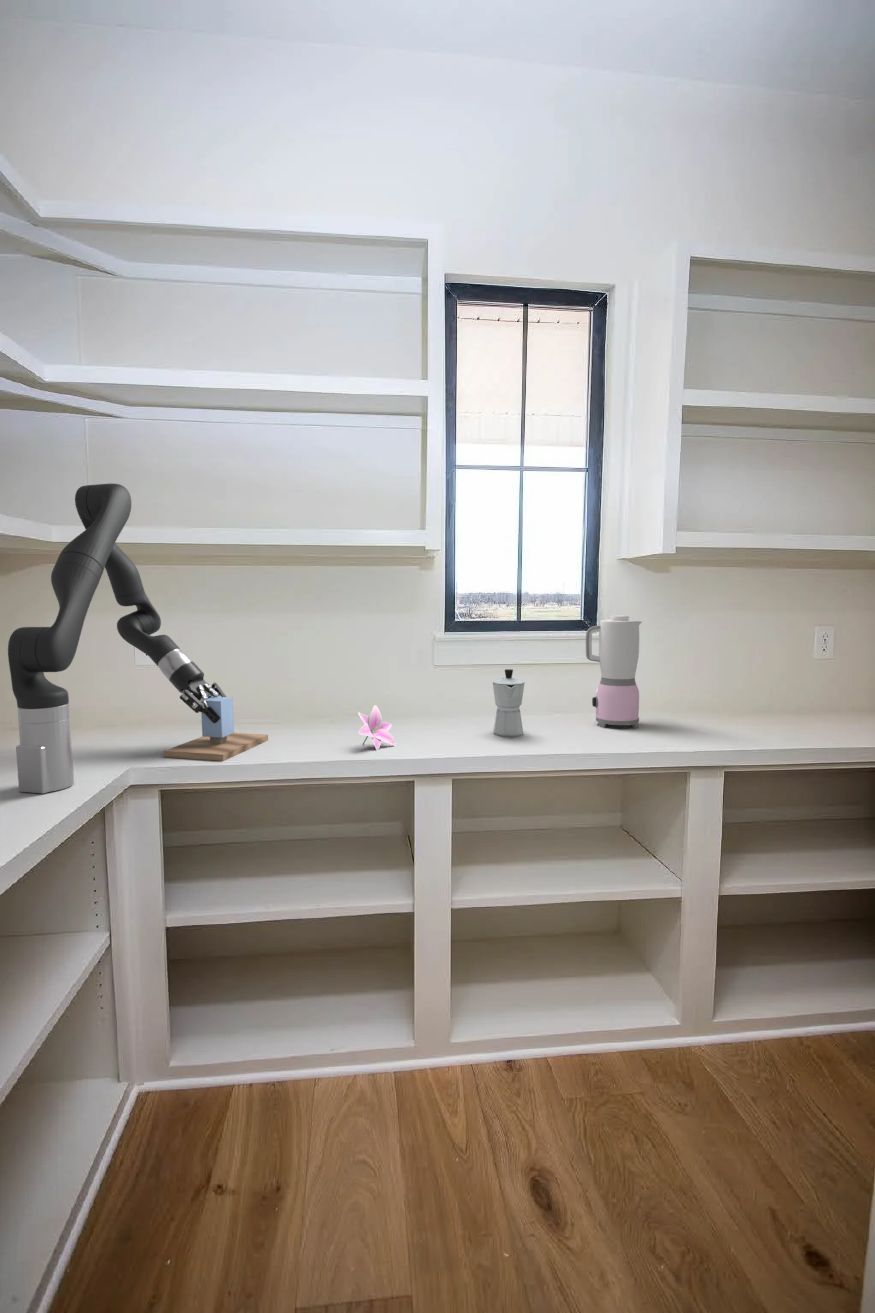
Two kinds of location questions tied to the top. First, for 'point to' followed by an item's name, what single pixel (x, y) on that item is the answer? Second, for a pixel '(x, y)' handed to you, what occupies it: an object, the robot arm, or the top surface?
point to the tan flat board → (216, 746)
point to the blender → (616, 671)
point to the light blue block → (226, 721)
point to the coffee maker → (508, 706)
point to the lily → (376, 728)
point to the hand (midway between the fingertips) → (224, 718)
